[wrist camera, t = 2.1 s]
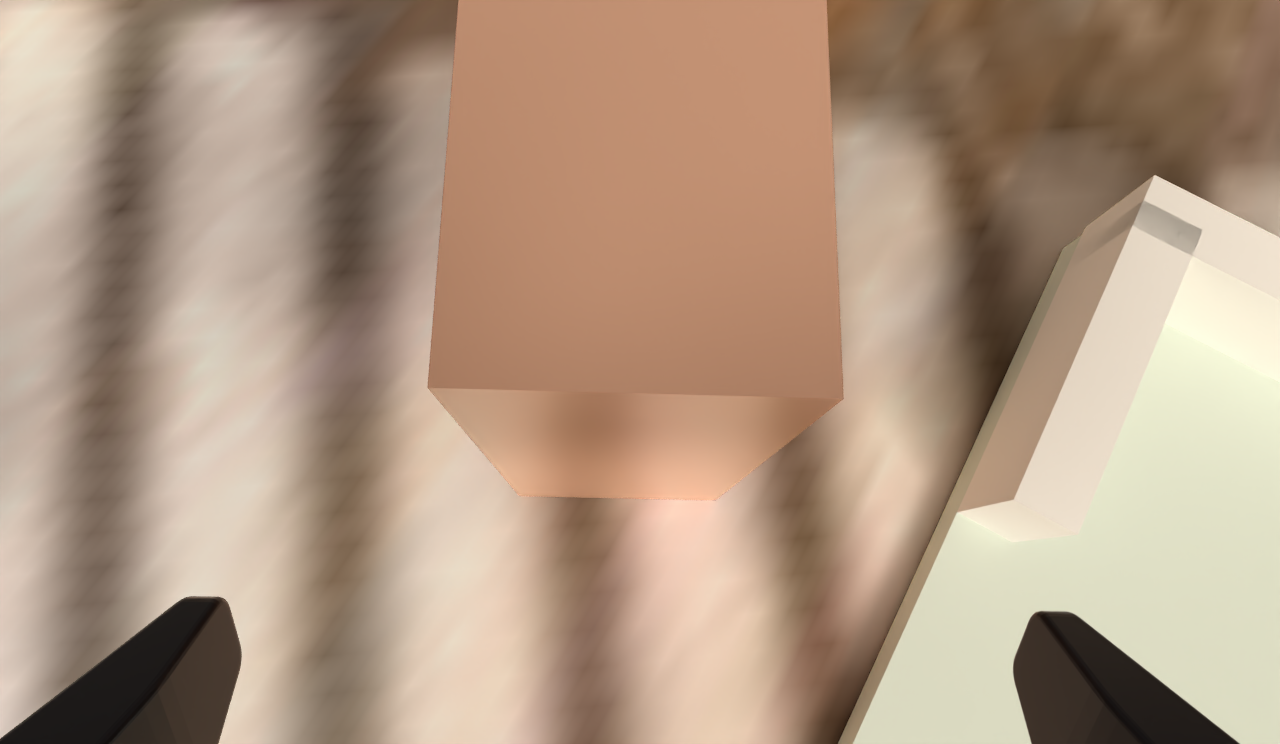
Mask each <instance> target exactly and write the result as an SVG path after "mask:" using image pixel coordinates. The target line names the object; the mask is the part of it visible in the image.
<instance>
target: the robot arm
mask: <svg viewBox="0 0 1280 744" xmlns="http://www.w3.org/2000/svg"><path fill="white" fill-rule="evenodd" d="M241 657H242V654H241V646H240V642H239V638H238V635H237V631H236V628H235V624H234V621H233V617H232V613H231V610H230V607H229V604H228V602H227V601H226V600H225V599H224V598H221V597H200V596H191V597H186V598H184V599H182V600H180V601H178V602H177V603H176V604H174V605H173V606H172V607H171V608H169V609H168V610H167V611H165V612H164V613H163V614H161V615H160V616H159V617H158V618H156V619H155V620H154V621H152V622H151V623H150V624H148V625H147V626H146V627H145V628H143V629H142V630H141V631H139V632H138V633H137V634H136V635H134V636H133V637H132V638H130V639H129V640H128V641H126V642H125V643H124V644H123V645H121V646H120V647H119V648H117V649H116V650H115V651H113V652H112V653H111V654H110V655H108V656H107V657H106V658H104V659H103V660H102V661H101V662H99V663H98V664H97V665H95V666H94V667H93V668H91V669H90V670H89V671H88V672H86V673H85V674H84V675H82V676H81V677H80V678H78V679H77V680H76V681H75V682H73V683H72V684H71V685H69V686H68V687H67V688H66V689H64V690H63V691H62V692H60V693H59V694H58V695H56V696H55V697H54V698H53V699H51V700H50V701H49V702H47V703H46V704H45V705H43V706H42V707H41V708H40V709H38V710H37V711H36V712H34V713H33V714H32V715H31V716H29V717H28V718H27V719H25V720H24V721H23V722H21V723H20V724H19V725H18V726H16V727H15V728H14V729H12V730H11V731H10V732H8V733H7V734H6V735H5V736H3V737H2V738H1V739H0V744H218V743H219V740H220V736H221V733H222V729H223V726H224V722H225V719H226V715H227V712H228V709H229V705H230V702H231V698H232V695H233V691H234V688H235V685H236V681H237V678H238V674H239V671H240V666H241ZM1013 677H1014V682H1015V686H1016V690H1017V693H1018V697H1019V700H1020V704H1021V708H1022V711H1023V715H1024V719H1025V722H1026V726H1027V729H1028V733H1029V737H1030V740H1031V744H1240V743H1239V742H1237V741H1236V740H1235V739H1234V738H1232V737H1231V736H1230V735H1228V734H1227V733H1226V732H1225V731H1223V730H1222V729H1221V728H1220V727H1218V726H1217V725H1216V724H1214V723H1213V722H1212V721H1211V720H1209V719H1208V718H1207V717H1206V716H1204V715H1203V714H1202V713H1201V712H1199V711H1198V710H1197V709H1195V708H1194V707H1193V706H1192V705H1190V704H1189V703H1188V702H1187V701H1185V700H1184V699H1183V698H1181V697H1180V696H1179V695H1178V694H1176V693H1175V692H1174V691H1173V690H1171V689H1170V688H1169V687H1168V686H1166V685H1165V684H1164V683H1162V682H1161V681H1160V680H1159V679H1157V678H1156V677H1155V676H1154V675H1152V674H1151V673H1150V672H1148V671H1147V670H1146V669H1145V668H1143V667H1142V666H1141V665H1140V664H1138V663H1137V662H1136V661H1135V660H1133V659H1132V658H1131V657H1129V656H1128V655H1127V654H1126V653H1124V652H1123V651H1122V650H1121V649H1119V648H1118V647H1117V646H1115V645H1114V644H1113V643H1112V642H1110V641H1109V640H1108V639H1107V638H1105V637H1104V636H1103V635H1102V634H1100V633H1099V632H1098V631H1096V630H1095V629H1094V628H1093V627H1091V626H1090V625H1089V624H1088V623H1086V622H1085V621H1084V620H1082V619H1081V618H1080V617H1078V616H1077V615H1075V614H1073V613H1071V612H1067V611H1038V612H1035V613H1034V614H1033V615H1032V616H1031V617H1030V619H1029V622H1028V624H1027V627H1026V629H1025V632H1024V634H1023V637H1022V639H1021V642H1020V645H1019V647H1018V650H1017V652H1016V655H1015V658H1014V662H1013Z"/></svg>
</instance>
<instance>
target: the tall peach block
mask: <svg viewBox="0 0 1280 744" xmlns="http://www.w3.org/2000/svg"><path fill="white" fill-rule="evenodd" d="M428 389H429V390H430V391H431V392H432V394H433V395H434V396H435V397H436V398H437V400H438V401H439V402H440V403H441V404H442V405H443V407H444V408H445V409H446V410H447V411H448V413H449V414H450V415H451V416H452V417H453V418H454V420H455V421H456V422H457V423H458V424H459V426H460V427H461V428H462V429H463V430H464V431H465V433H466V434H467V435H468V436H469V437H470V438H471V440H472V441H473V442H474V443H475V444H476V446H477V447H478V448H479V449H480V450H481V451H482V453H483V454H484V455H485V456H486V457H487V459H488V460H489V461H490V462H491V463H492V464H493V466H494V467H495V468H496V469H497V470H498V471H499V473H500V474H501V475H502V476H503V477H504V479H505V480H506V481H507V482H508V483H509V484H510V486H511V487H512V488H513V489H514V490H515V492H516V493H517V494H518V495H519V496H537V497H583V498H630V499H676V500H717V499H718V498H719V497H720V496H722V495H723V494H724V493H726V492H727V491H728V490H729V489H731V488H732V487H733V486H734V485H736V484H737V483H738V482H739V481H741V480H742V479H743V478H744V477H746V476H747V475H748V474H749V473H751V472H752V471H753V470H754V469H756V468H757V467H758V466H760V465H761V464H762V463H763V462H765V461H766V460H767V459H768V458H770V457H771V456H772V455H773V454H775V453H776V452H777V451H778V450H780V449H781V448H782V447H783V446H785V445H786V444H787V443H788V442H790V441H791V440H792V439H794V438H795V437H796V436H797V435H799V434H800V433H801V432H802V431H804V430H805V429H806V428H807V427H809V426H810V425H811V424H812V423H814V422H815V421H816V420H817V419H819V418H820V417H821V416H822V415H824V414H825V413H826V412H828V411H829V410H830V409H831V408H833V407H834V406H835V405H836V404H838V403H839V402H840V401H841V400H843V399H844V397H843V374H842V351H841V327H840V304H839V280H838V257H837V234H836V210H835V187H834V164H833V140H832V117H831V93H830V70H829V47H828V23H827V0H459V1H458V13H457V26H456V38H455V51H454V63H453V76H452V88H451V101H450V113H449V126H448V138H447V151H446V164H445V176H444V189H443V201H442V214H441V226H440V239H439V251H438V264H437V276H436V289H435V301H434V314H433V326H432V339H431V352H430V364H429V377H428Z"/></svg>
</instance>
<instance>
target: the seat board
mask: <svg viewBox="0 0 1280 744" xmlns="http://www.w3.org/2000/svg"><path fill="white" fill-rule="evenodd" d="M1038 611H1067V612H1071V613H1073V614H1075V615H1077V616H1078V617H1080V618H1081V619H1082V620H1084V621H1085V622H1086V623H1088V624H1089V625H1090V626H1091V627H1093V628H1094V629H1095V630H1096V631H1098V632H1099V633H1100V634H1102V635H1103V636H1104V637H1105V638H1107V639H1108V640H1109V641H1110V642H1112V643H1113V644H1114V645H1115V646H1117V647H1118V648H1119V649H1121V650H1122V651H1123V652H1124V653H1126V654H1127V655H1128V656H1129V657H1131V658H1132V659H1133V660H1135V661H1136V662H1137V663H1138V664H1140V665H1141V666H1142V667H1143V668H1145V669H1146V670H1147V671H1148V672H1150V673H1151V674H1152V675H1154V676H1155V677H1156V678H1157V679H1159V680H1160V681H1161V682H1162V683H1164V684H1165V685H1166V686H1168V687H1169V688H1170V689H1171V690H1173V691H1174V692H1175V693H1176V694H1178V695H1179V696H1180V697H1181V698H1183V699H1184V700H1185V701H1187V702H1188V703H1189V704H1190V705H1192V706H1193V707H1194V708H1195V709H1197V710H1198V711H1199V712H1201V713H1202V714H1203V715H1204V716H1206V717H1207V718H1208V719H1209V720H1211V721H1212V722H1213V723H1214V724H1216V725H1217V726H1218V727H1220V728H1221V729H1222V730H1223V731H1225V732H1226V733H1227V734H1228V735H1230V736H1231V737H1232V738H1234V739H1235V740H1236V741H1237V742H1239V743H1240V744H1280V237H1278V236H1276V235H1274V234H1272V233H1270V232H1268V231H1266V230H1264V229H1262V228H1260V227H1258V226H1256V225H1254V224H1252V223H1250V222H1248V221H1246V220H1244V219H1242V218H1240V217H1238V216H1236V215H1234V214H1232V213H1230V212H1228V211H1226V210H1224V209H1222V208H1220V207H1218V206H1216V205H1214V204H1212V203H1210V202H1208V201H1206V200H1204V199H1202V198H1200V197H1198V196H1196V195H1194V194H1192V193H1190V192H1188V191H1186V190H1184V189H1182V188H1180V187H1178V186H1176V185H1174V184H1172V183H1170V182H1168V181H1166V180H1164V179H1162V178H1160V177H1158V176H1156V175H1154V176H1153V177H1151V178H1150V179H1149V180H1147V181H1146V182H1145V183H1143V184H1142V185H1141V186H1139V187H1138V188H1137V189H1135V190H1134V191H1133V192H1131V193H1130V194H1129V195H1127V196H1126V197H1125V198H1123V199H1122V200H1121V201H1119V202H1118V203H1117V204H1115V205H1114V206H1113V207H1111V208H1110V209H1109V210H1107V211H1106V212H1105V213H1103V214H1102V215H1101V216H1099V217H1098V218H1097V219H1095V220H1094V221H1093V222H1091V223H1090V224H1089V225H1087V226H1086V227H1085V229H1084V231H1083V234H1082V235H1081V236H1079V237H1078V238H1077V239H1075V240H1074V241H1072V242H1071V243H1070V244H1068V245H1067V246H1066V247H1064V248H1063V249H1062V252H1061V254H1060V256H1059V258H1058V260H1057V263H1056V265H1055V267H1054V269H1053V271H1052V274H1051V276H1050V278H1049V280H1048V282H1047V285H1046V287H1045V289H1044V291H1043V293H1042V296H1041V298H1040V300H1039V302H1038V304H1037V307H1036V309H1035V311H1034V313H1033V315H1032V318H1031V320H1030V322H1029V324H1028V326H1027V329H1026V331H1025V333H1024V335H1023V337H1022V340H1021V342H1020V344H1019V346H1018V348H1017V351H1016V353H1015V355H1014V357H1013V359H1012V362H1011V364H1010V366H1009V368H1008V370H1007V373H1006V375H1005V377H1004V379H1003V381H1002V384H1001V386H1000V388H999V390H998V392H997V395H996V397H995V399H994V401H993V403H992V406H991V408H990V410H989V412H988V414H987V417H986V419H985V421H984V423H983V425H982V428H981V430H980V432H979V434H978V436H977V439H976V441H975V443H974V445H973V447H972V450H971V452H970V454H969V456H968V458H967V461H966V463H965V465H964V467H963V469H962V472H961V474H960V476H959V478H958V480H957V483H956V485H955V487H954V489H953V491H952V494H951V496H950V498H949V500H948V502H947V505H946V507H945V509H944V511H943V513H942V516H941V518H940V520H939V522H938V524H937V527H936V529H935V531H934V533H933V535H932V538H931V540H930V542H929V544H928V546H927V549H926V551H925V553H924V555H923V557H922V560H921V562H920V564H919V566H918V568H917V571H916V573H915V575H914V577H913V579H912V582H911V584H910V586H909V588H908V590H907V593H906V595H905V597H904V599H903V601H902V604H901V606H900V608H899V610H898V612H897V615H896V617H895V619H894V621H893V623H892V626H891V628H890V630H889V632H888V634H887V637H886V639H885V641H884V643H883V645H882V648H881V650H880V652H879V654H878V656H877V659H876V661H875V663H874V665H873V667H872V670H871V672H870V674H869V676H868V678H867V681H866V683H865V685H864V687H863V689H862V692H861V694H860V696H859V698H858V700H857V703H856V705H855V707H854V709H853V711H852V714H851V716H850V718H849V720H848V722H847V725H846V727H845V729H844V731H843V733H842V736H841V738H840V740H839V742H838V744H1031V740H1030V737H1029V733H1028V729H1027V726H1026V722H1025V719H1024V715H1023V711H1022V708H1021V704H1020V700H1019V697H1018V693H1017V690H1016V686H1015V682H1014V677H1013V662H1014V658H1015V655H1016V652H1017V650H1018V647H1019V645H1020V642H1021V639H1022V637H1023V634H1024V632H1025V629H1026V627H1027V624H1028V622H1029V619H1030V617H1031V616H1032V615H1033V614H1034V613H1035V612H1038Z"/></svg>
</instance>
